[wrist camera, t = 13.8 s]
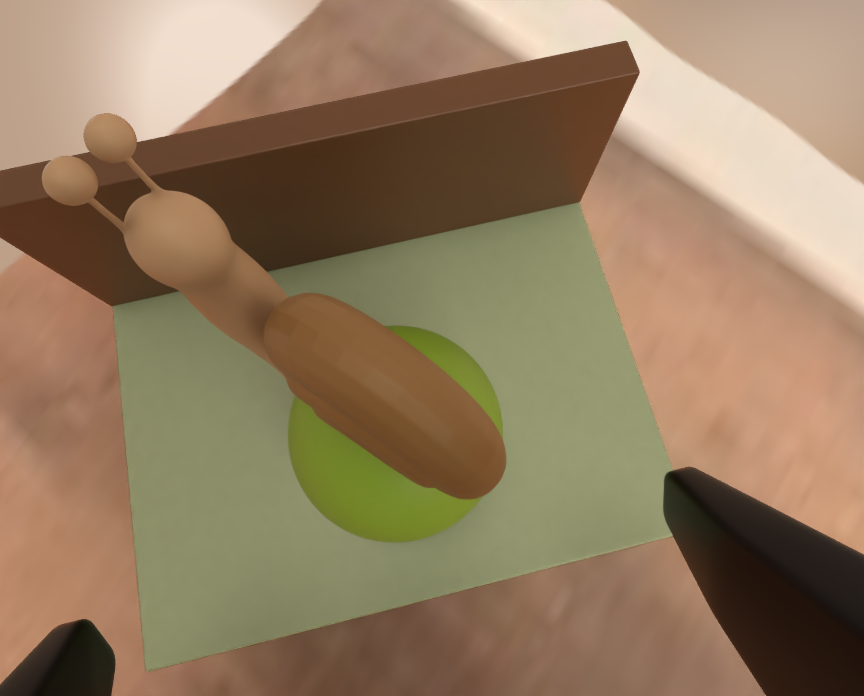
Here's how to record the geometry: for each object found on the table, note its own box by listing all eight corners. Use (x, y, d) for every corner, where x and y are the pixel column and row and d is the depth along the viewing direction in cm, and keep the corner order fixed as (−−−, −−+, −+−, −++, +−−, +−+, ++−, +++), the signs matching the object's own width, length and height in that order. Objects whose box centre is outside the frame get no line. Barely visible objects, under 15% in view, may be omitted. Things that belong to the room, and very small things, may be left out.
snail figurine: (356, 308, 18) (215, -30, 7) (526, 417, 17) (701, 236, 6) (252, 449, 17) (-137, 329, 6) (427, 575, 16) (399, 748, 5)
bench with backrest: (646, 526, 20) (836, 543, 11) (202, 640, 19) (-32, 772, 10) (549, 231, 23) (627, 38, 14) (165, 318, 23) (-39, 177, 13)
